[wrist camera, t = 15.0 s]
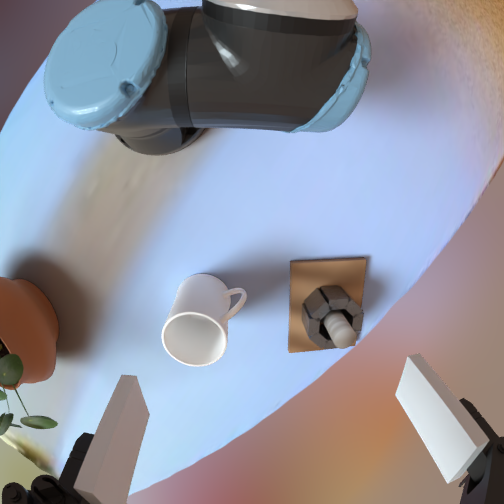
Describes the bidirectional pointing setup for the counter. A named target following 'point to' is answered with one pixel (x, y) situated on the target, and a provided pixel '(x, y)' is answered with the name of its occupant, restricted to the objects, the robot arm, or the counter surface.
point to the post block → (313, 276)
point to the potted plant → (25, 343)
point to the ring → (321, 305)
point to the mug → (200, 320)
